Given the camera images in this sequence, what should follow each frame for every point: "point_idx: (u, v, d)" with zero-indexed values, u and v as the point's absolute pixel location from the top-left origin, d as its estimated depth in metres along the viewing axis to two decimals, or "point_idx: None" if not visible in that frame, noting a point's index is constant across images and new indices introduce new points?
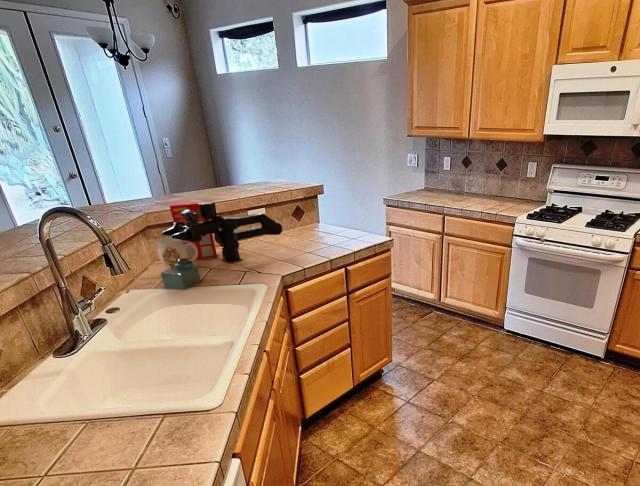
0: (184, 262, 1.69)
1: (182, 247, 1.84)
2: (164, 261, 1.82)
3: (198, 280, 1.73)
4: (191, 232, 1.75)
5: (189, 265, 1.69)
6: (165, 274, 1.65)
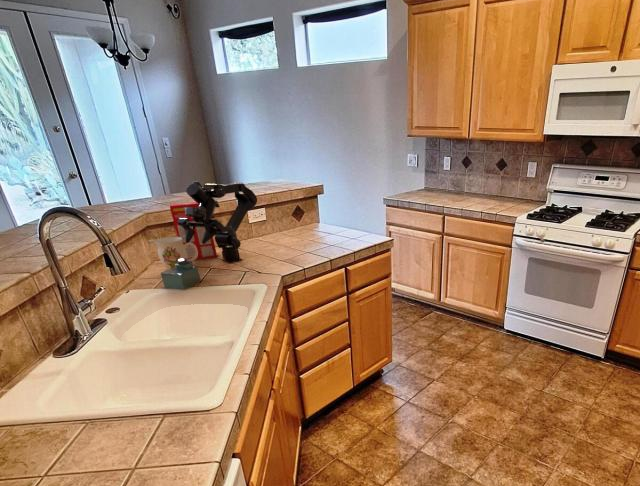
0: (184, 262, 1.69)
1: (182, 247, 1.84)
2: (164, 261, 1.82)
3: (198, 280, 1.73)
4: (213, 228, 1.74)
5: (189, 265, 1.69)
6: (165, 274, 1.65)
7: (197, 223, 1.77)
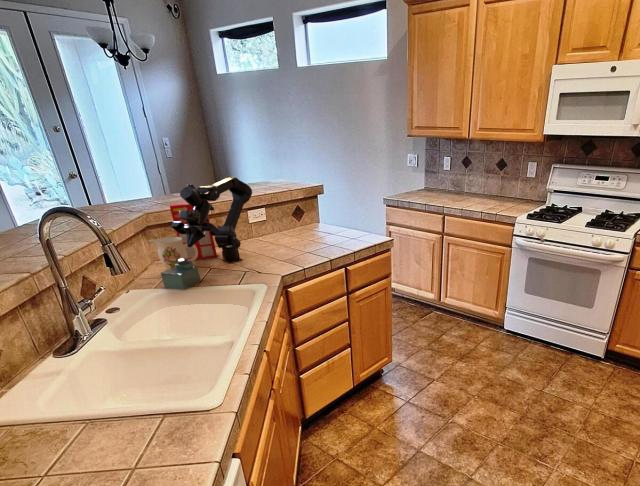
0: (184, 262, 1.69)
1: (182, 247, 1.84)
2: (164, 261, 1.82)
3: (198, 280, 1.73)
4: (200, 231, 1.72)
5: (189, 265, 1.69)
6: (165, 274, 1.65)
7: (191, 226, 1.74)
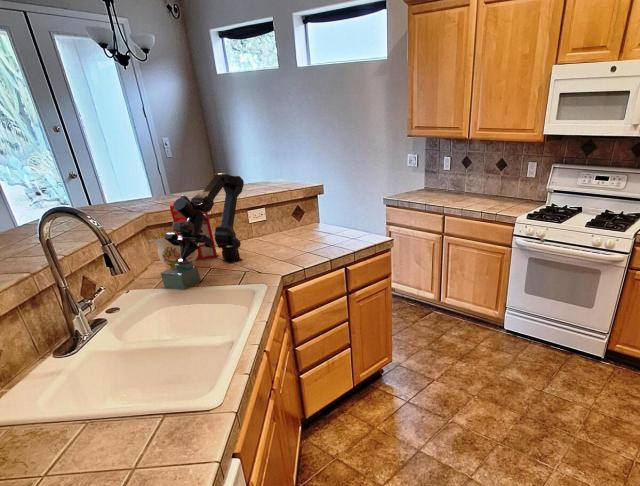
0: (184, 262, 1.69)
1: None
2: (164, 261, 1.82)
3: (198, 280, 1.73)
4: (194, 243, 1.70)
5: (189, 265, 1.69)
6: (165, 274, 1.65)
7: (185, 238, 1.71)
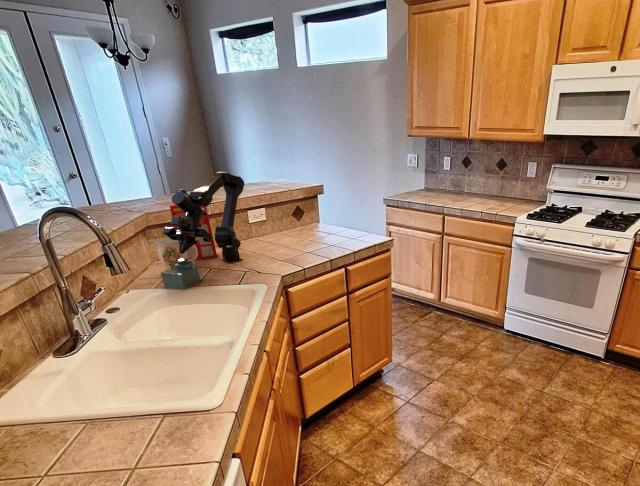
0: (184, 262, 1.69)
1: None
2: (164, 261, 1.82)
3: (198, 280, 1.73)
4: (192, 237, 1.68)
5: (189, 265, 1.69)
6: (165, 274, 1.65)
7: (183, 232, 1.70)
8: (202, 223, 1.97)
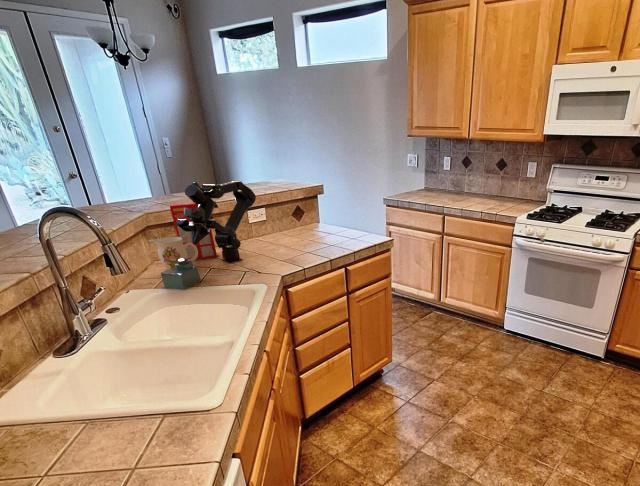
0: (184, 262, 1.69)
1: (182, 247, 1.84)
2: (164, 261, 1.82)
3: (198, 280, 1.73)
4: (204, 228, 1.75)
5: (189, 265, 1.69)
6: (165, 274, 1.65)
7: (196, 224, 1.76)
8: None
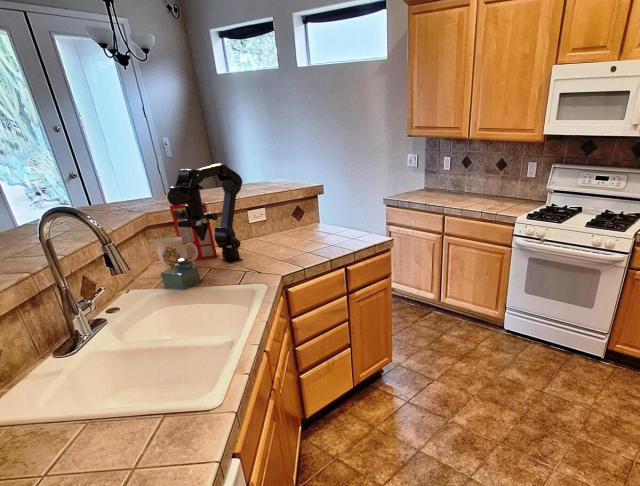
0: (184, 262, 1.69)
1: (182, 247, 1.84)
2: (164, 261, 1.82)
3: (198, 280, 1.73)
4: None
5: (189, 265, 1.69)
6: (165, 274, 1.65)
7: None
8: None
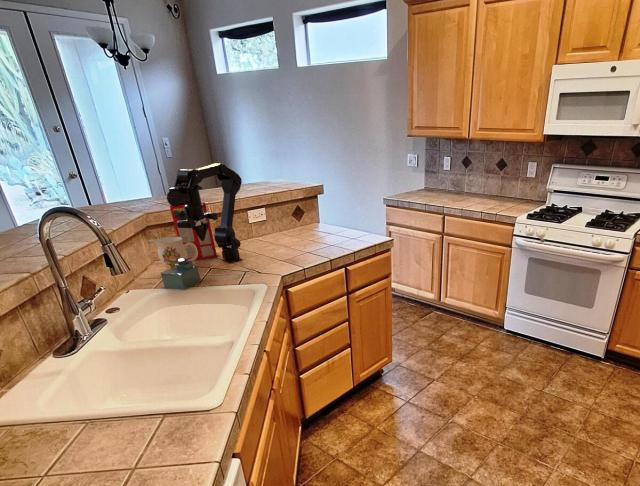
0: (184, 262, 1.69)
1: (182, 247, 1.84)
2: (164, 261, 1.82)
3: (198, 280, 1.73)
4: None
5: (189, 265, 1.69)
6: (165, 274, 1.65)
7: None
8: None
